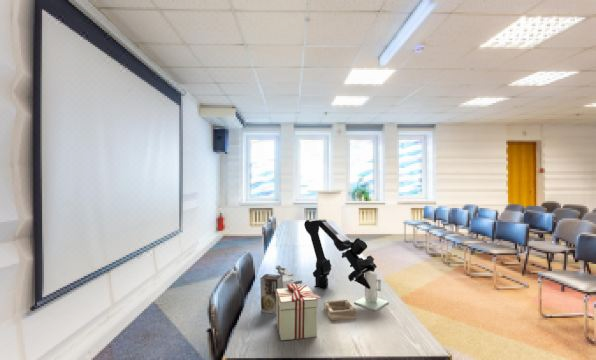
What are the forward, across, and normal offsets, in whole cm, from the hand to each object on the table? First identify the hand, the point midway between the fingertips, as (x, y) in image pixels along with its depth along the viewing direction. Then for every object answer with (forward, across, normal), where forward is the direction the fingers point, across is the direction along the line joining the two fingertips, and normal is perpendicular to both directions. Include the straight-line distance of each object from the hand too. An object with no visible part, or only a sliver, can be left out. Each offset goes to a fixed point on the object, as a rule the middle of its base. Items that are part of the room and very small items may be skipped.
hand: (373, 286), depth 142 cm
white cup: (-21, -24, +33) cm, 46 cm away
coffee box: (-16, -39, +28) cm, 51 cm away
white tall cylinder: (+4, 0, +5) cm, 7 cm away
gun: (-39, -1, +53) cm, 66 cm away
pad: (+5, 0, +7) cm, 9 cm away
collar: (+2, -20, +10) cm, 22 cm away
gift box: (-1, -42, +13) cm, 44 cm away
